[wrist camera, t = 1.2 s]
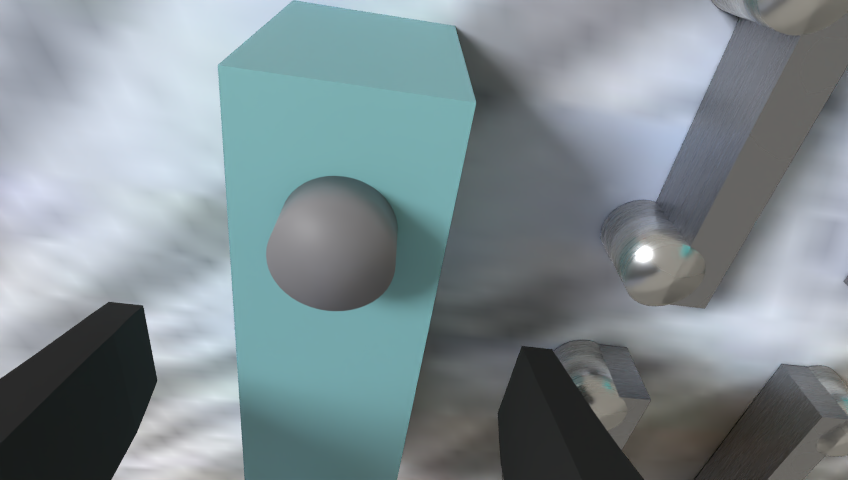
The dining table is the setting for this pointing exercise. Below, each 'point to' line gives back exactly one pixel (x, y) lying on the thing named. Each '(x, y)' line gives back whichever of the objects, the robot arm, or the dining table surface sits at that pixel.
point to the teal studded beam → (337, 230)
